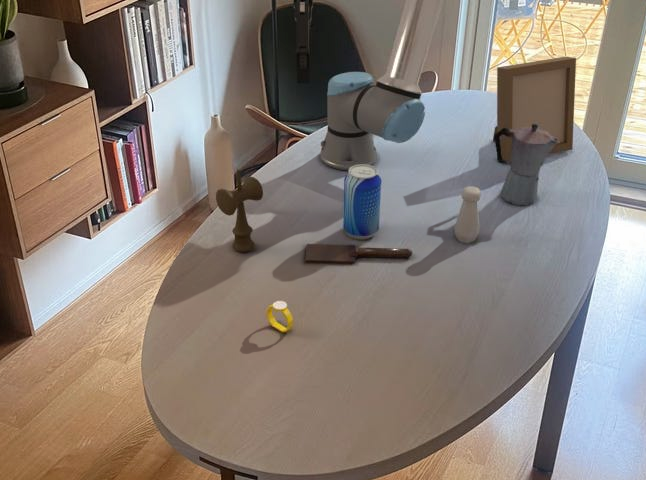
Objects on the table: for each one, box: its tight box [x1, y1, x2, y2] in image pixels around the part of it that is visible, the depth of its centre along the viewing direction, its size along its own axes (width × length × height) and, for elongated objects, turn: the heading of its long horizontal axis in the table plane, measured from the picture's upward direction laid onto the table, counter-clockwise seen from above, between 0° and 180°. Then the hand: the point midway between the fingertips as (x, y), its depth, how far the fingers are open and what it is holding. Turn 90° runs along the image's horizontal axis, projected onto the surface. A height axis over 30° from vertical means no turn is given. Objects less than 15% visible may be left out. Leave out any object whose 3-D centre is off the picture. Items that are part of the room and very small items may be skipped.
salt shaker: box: [453, 186, 482, 244], centre depth 188 cm, size 6×6×13 cm
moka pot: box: [493, 124, 559, 206], centre depth 202 cm, size 10×15×20 cm, turn 78°
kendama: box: [215, 168, 264, 253], centre depth 182 cm, size 6×10×20 cm, turn 138°
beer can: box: [342, 164, 382, 240], centre depth 189 cm, size 8×8×16 cm
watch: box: [266, 300, 294, 333], centre depth 162 cm, size 6×3×6 cm, turn 51°
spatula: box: [304, 243, 413, 265], centre depth 185 cm, size 24×7×2 cm, turn 89°
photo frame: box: [492, 56, 577, 164], centre depth 223 cm, size 15×22×25 cm
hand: (304, 70), depth 177 cm, fingers open, 13 cm apart
